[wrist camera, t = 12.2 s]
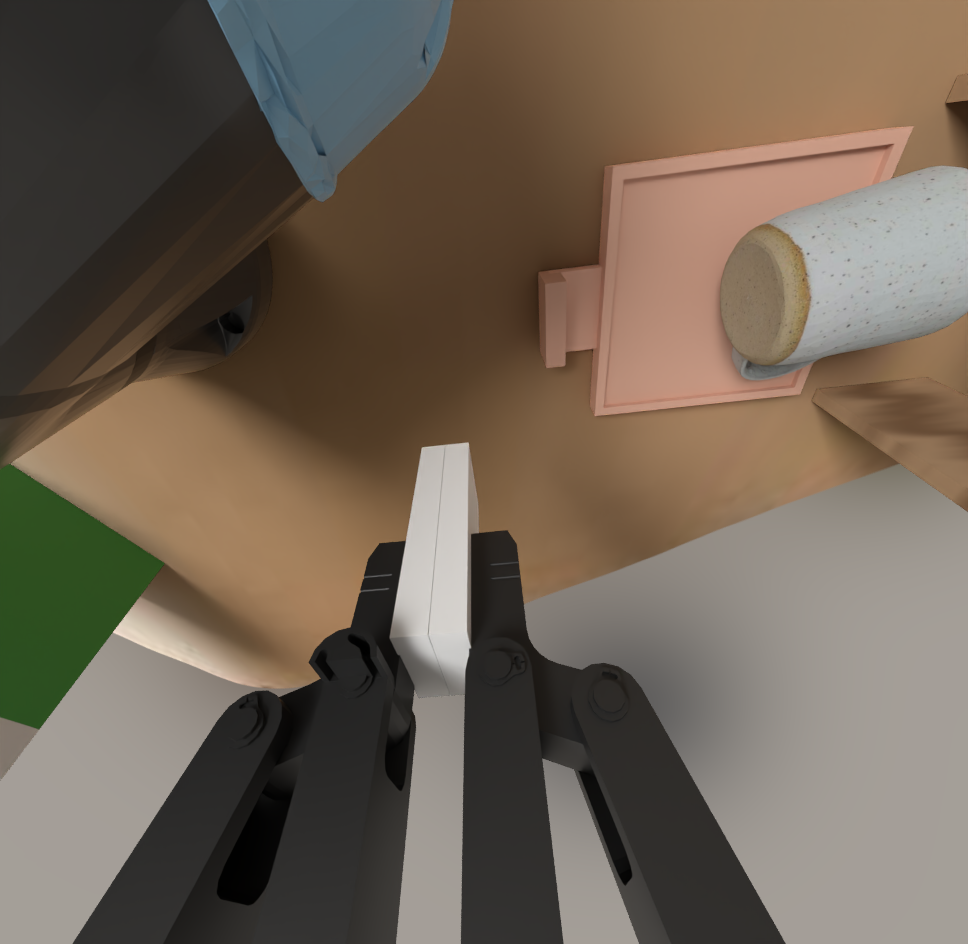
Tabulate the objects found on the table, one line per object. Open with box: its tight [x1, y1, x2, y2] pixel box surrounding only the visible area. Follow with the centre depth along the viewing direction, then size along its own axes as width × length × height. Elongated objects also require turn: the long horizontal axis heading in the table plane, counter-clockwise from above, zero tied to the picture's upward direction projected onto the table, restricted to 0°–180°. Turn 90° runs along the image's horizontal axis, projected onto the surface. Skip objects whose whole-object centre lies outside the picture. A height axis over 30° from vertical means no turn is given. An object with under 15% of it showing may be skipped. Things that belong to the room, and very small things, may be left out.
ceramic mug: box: [720, 166, 968, 380], centre depth 21 cm, size 11×8×8 cm
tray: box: [538, 126, 914, 416], centre depth 25 cm, size 18×15×3 cm
